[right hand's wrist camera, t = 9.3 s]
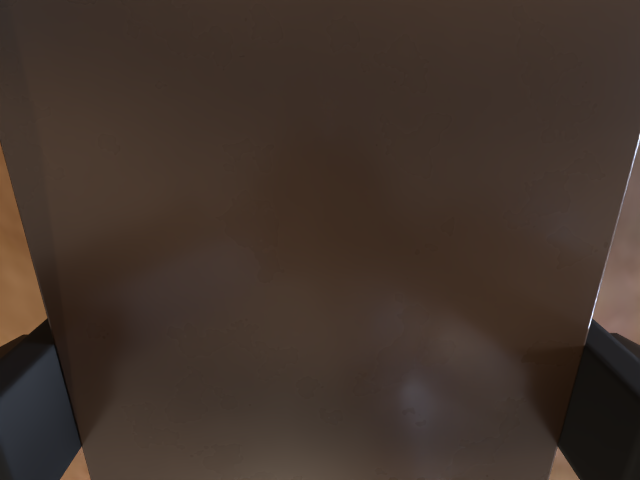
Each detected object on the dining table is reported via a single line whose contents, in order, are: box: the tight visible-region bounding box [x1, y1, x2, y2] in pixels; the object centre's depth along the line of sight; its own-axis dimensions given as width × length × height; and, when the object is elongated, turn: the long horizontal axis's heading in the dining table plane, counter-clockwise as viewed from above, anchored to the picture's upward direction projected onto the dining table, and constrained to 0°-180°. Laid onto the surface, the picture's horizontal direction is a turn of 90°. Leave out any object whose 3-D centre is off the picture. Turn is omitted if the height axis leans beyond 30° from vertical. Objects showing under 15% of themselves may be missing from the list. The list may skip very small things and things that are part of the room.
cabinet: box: [0, 0, 640, 480], centre depth 10 cm, size 21×11×9 cm, turn 0°
